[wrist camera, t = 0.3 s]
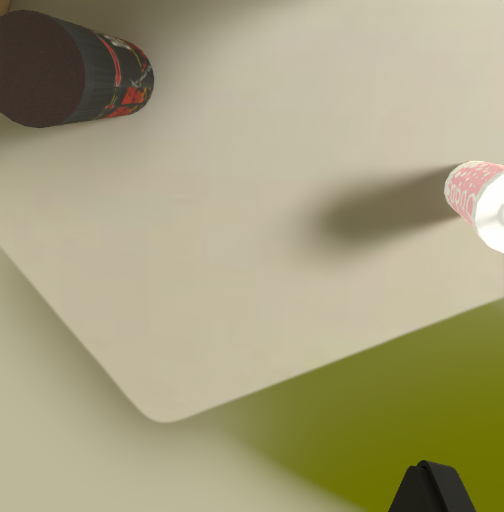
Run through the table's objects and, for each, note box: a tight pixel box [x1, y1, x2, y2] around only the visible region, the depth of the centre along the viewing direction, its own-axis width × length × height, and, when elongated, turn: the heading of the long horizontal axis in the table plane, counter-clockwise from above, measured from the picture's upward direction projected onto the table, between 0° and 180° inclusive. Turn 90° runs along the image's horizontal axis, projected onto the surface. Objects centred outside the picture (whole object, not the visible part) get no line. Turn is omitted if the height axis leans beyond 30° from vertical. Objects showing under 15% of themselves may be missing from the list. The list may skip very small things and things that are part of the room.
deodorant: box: [0, 10, 154, 128], centre depth 33 cm, size 6×6×15 cm
